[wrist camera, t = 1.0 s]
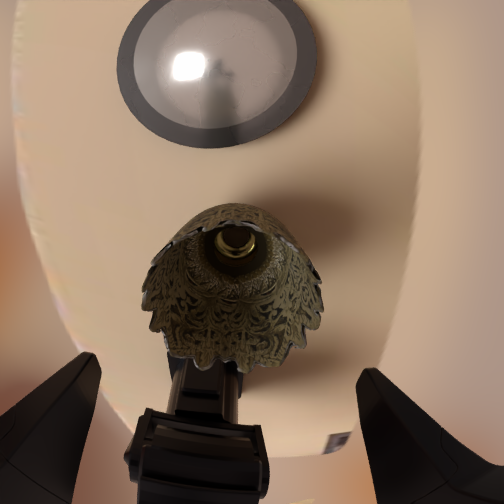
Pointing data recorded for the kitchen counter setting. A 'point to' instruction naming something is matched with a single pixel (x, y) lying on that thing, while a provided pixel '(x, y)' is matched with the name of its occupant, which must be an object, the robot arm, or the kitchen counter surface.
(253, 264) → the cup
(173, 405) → the robot arm
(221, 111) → the gray-rimmed plate
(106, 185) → the kitchen counter surface
